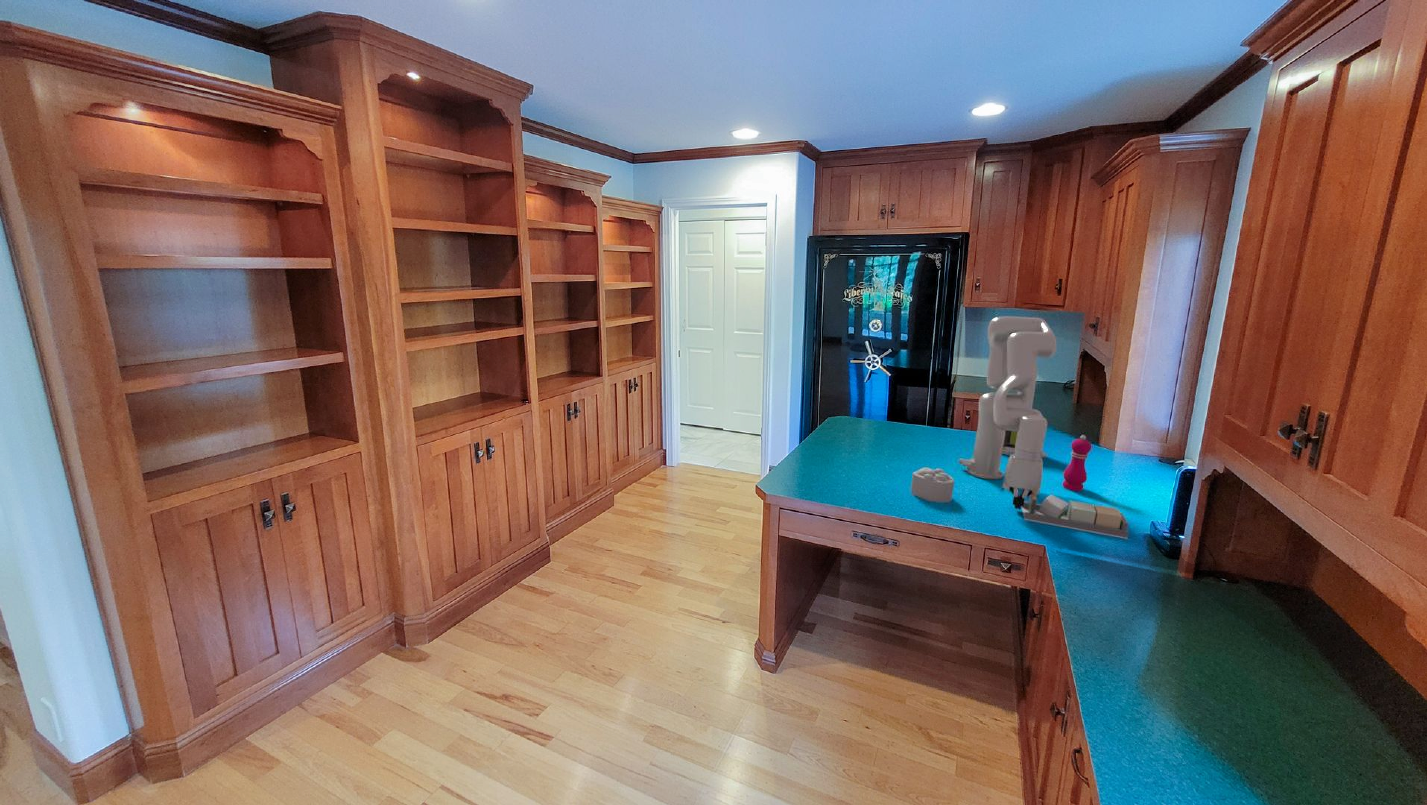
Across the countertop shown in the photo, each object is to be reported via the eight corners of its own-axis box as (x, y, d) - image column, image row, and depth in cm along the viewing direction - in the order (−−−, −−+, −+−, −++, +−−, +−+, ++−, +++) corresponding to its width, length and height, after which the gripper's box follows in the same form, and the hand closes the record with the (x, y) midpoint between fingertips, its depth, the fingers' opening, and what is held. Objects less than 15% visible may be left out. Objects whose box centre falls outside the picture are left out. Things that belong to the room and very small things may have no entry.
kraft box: (1094, 529, 169) (1098, 512, 168) (1090, 520, 174) (1094, 504, 173) (1117, 533, 167) (1122, 516, 165) (1113, 524, 172) (1117, 508, 171)
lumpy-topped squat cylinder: (921, 485, 201) (924, 462, 198) (957, 497, 191) (961, 473, 189) (907, 493, 194) (910, 469, 191) (943, 505, 185) (946, 481, 182)
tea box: (1037, 453, 235) (1043, 420, 231) (1035, 460, 227) (1042, 426, 223) (998, 446, 243) (1003, 413, 239) (995, 453, 235) (1000, 419, 231)
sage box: (1069, 524, 172) (1073, 508, 170) (1066, 516, 177) (1069, 500, 175) (1092, 528, 169) (1096, 512, 168) (1088, 520, 175) (1092, 504, 173)
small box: (1055, 521, 172) (1061, 509, 170) (1037, 511, 176) (1042, 499, 174) (1063, 515, 176) (1069, 503, 173) (1045, 506, 180) (1051, 493, 177)
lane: (1023, 522, 174) (1026, 507, 173) (1021, 508, 184) (1023, 494, 183) (1127, 541, 164) (1131, 526, 163) (1118, 525, 174) (1122, 511, 172)
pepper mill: (1087, 492, 197) (1099, 439, 192) (1065, 490, 199) (1076, 437, 193) (1079, 484, 204) (1090, 433, 199) (1057, 482, 205) (1068, 431, 200)
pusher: (1029, 516, 175) (1033, 497, 174) (1027, 508, 181) (1031, 489, 180) (1033, 517, 175) (1036, 498, 173) (1030, 508, 181) (1034, 490, 179)
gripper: (1053, 454, 175) (1042, 507, 180) (1000, 446, 181) (991, 498, 186) (1056, 462, 168) (1045, 517, 173) (1001, 453, 174) (992, 507, 179)
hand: (1017, 507), depth 179 cm, fingers closed
